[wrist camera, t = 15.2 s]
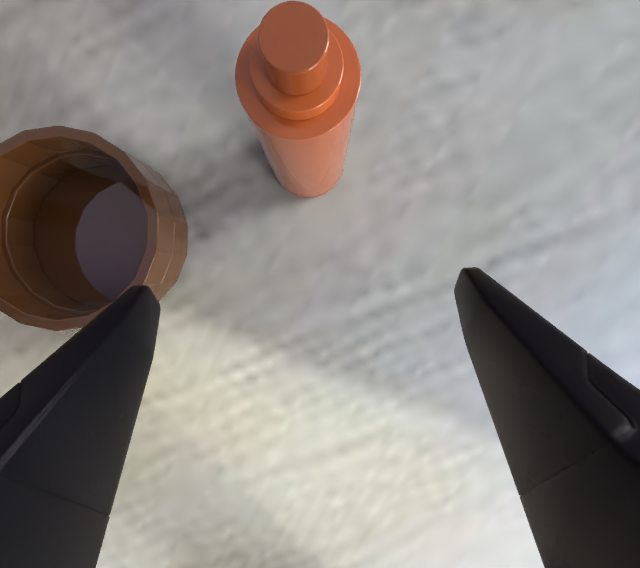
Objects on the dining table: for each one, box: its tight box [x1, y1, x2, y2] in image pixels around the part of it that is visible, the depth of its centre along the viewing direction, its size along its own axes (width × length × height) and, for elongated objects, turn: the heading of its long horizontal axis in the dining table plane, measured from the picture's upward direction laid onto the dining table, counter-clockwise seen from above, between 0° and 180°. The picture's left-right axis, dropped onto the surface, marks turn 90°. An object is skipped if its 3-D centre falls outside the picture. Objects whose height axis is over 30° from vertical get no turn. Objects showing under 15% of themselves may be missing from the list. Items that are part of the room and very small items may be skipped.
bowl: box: [0, 126, 188, 331], centre depth 20 cm, size 11×11×4 cm
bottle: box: [235, 1, 361, 197], centre depth 17 cm, size 5×5×12 cm
